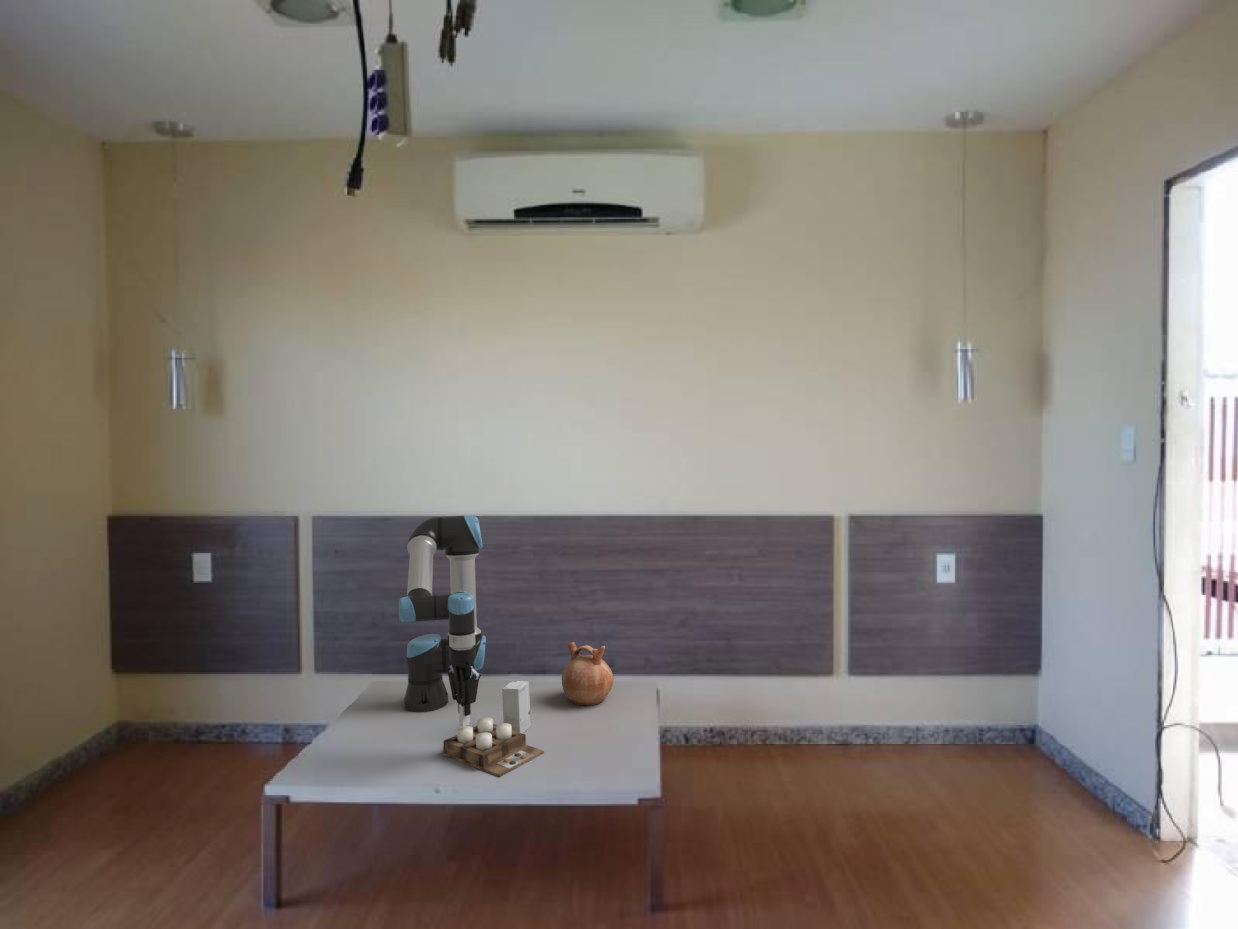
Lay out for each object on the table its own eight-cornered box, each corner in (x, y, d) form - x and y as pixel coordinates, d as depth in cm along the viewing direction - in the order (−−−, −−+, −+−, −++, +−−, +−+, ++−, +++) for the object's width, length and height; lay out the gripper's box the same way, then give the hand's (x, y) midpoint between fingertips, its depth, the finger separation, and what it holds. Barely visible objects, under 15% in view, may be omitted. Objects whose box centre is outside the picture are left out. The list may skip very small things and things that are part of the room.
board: (442, 754, 223) (442, 741, 223) (487, 733, 237) (487, 721, 237) (499, 777, 208) (499, 762, 208) (544, 753, 223) (543, 739, 222)
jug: (624, 695, 267) (623, 640, 266) (595, 713, 252) (594, 654, 250) (581, 686, 277) (580, 632, 275) (551, 702, 262) (549, 646, 260)
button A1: (454, 743, 223) (453, 730, 223) (466, 737, 227) (465, 724, 227) (464, 747, 221) (464, 733, 220) (476, 741, 224) (476, 728, 224)
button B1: (472, 750, 219) (472, 736, 218) (484, 744, 222) (484, 731, 222) (483, 754, 216) (483, 740, 216) (495, 748, 220) (495, 735, 219)
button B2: (493, 740, 225) (492, 727, 225) (504, 735, 229) (503, 722, 228) (504, 744, 222) (503, 731, 222) (515, 738, 226) (514, 725, 226)
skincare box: (520, 737, 234) (519, 690, 233) (502, 734, 236) (501, 688, 235) (531, 726, 242) (530, 680, 241) (514, 724, 244) (512, 679, 243)
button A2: (474, 733, 230) (474, 721, 230) (485, 728, 233) (485, 716, 233) (485, 737, 227) (484, 724, 227) (496, 732, 231) (495, 719, 230)
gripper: (437, 646, 223) (440, 724, 224) (467, 653, 215) (470, 734, 217) (457, 639, 229) (459, 716, 230) (487, 647, 221) (489, 725, 223)
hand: (464, 725), depth 223 cm, fingers closed
